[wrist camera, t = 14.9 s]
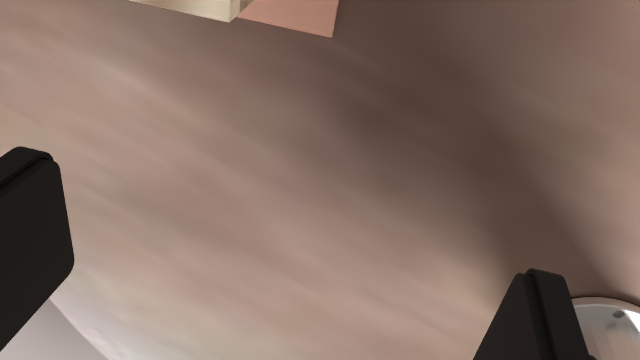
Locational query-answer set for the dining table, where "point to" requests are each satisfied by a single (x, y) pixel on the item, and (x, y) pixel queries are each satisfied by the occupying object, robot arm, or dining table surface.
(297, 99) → the dining table surface
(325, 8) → the terracotta mat
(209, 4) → the birch stool
